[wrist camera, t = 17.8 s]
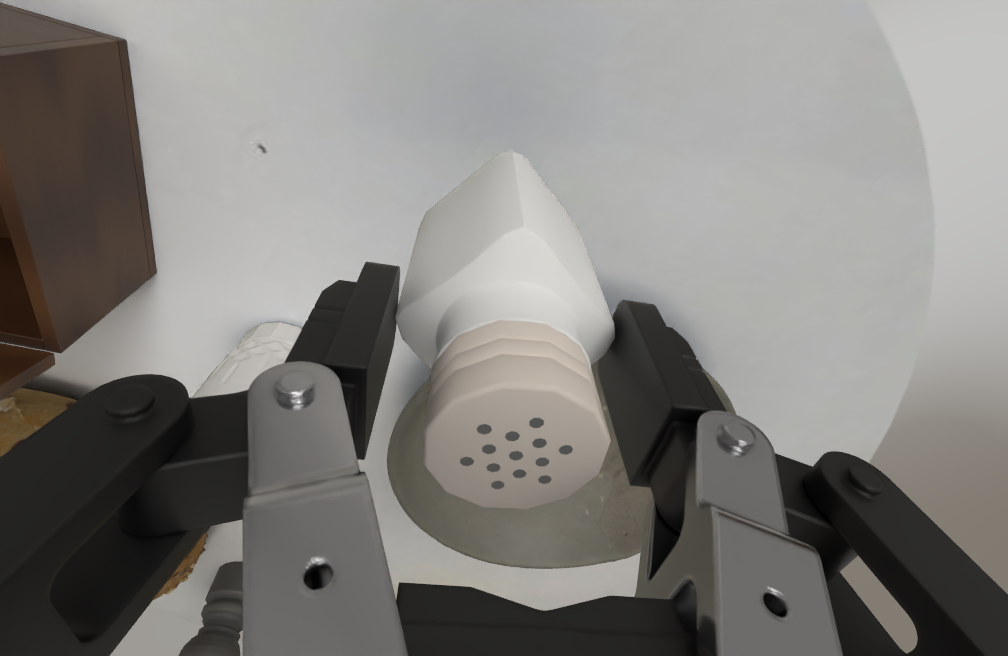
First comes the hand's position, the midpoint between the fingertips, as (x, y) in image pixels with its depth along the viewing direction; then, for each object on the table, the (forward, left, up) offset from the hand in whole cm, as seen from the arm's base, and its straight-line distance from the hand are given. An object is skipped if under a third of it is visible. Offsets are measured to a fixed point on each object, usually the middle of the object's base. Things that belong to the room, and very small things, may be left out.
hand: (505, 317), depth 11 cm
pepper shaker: (0, 0, -6) cm, 6 cm away
